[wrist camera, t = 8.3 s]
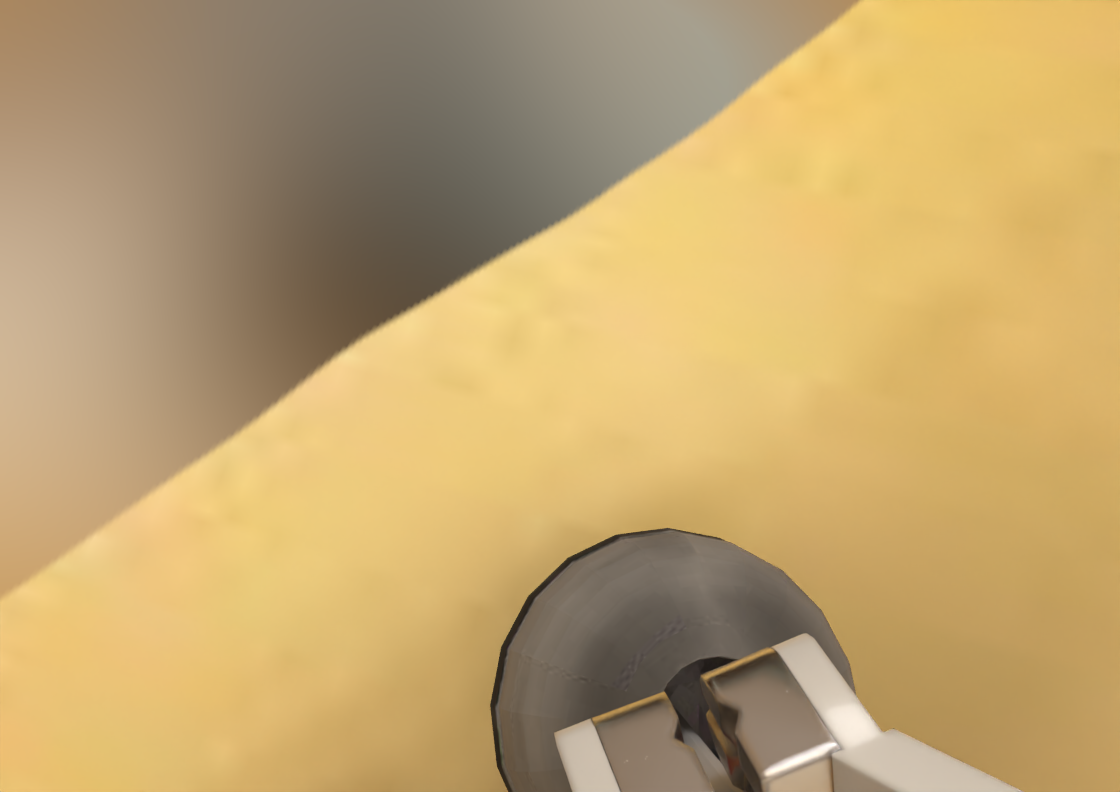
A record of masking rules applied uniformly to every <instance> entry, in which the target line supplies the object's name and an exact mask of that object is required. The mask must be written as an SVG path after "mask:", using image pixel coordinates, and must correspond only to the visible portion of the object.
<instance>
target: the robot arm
mask: <svg viewBox="0 0 1120 792" xmlns="http://www.w3.org/2000/svg"><path fill="white" fill-rule="evenodd" d="M699 681H700V686H701V692H702V695H703V697H704V698H705V700H706V702H707V704H708V706H709V710H708V712H707V714H706V718H707V722H708V726H709V731H710V734H711V737H712V739H713V742H714V745H715V748H716V751H717V753H718V756H719V758H720V760H721V762H722V764H723V767H724V769H725V771H726V773H727V775H728V777H729V779H730V781H731V783H732V785H734V786H735V787H737V788H739V789H741V790H743V791H744V792H1024V791H1022V790H1020V789H1017V788H1015V787H1013V786H1011V785H1009V784H1007V783H1005V782H1003V781H1001V780H999V779H997V778H995V777H993V776H991V775H989V774H987V773H984V772H982V771H980V770H978V769H976V768H974V767H972V766H970V765H968V764H966V763H964V762H962V761H960V760H958V759H956V758H954V757H952V756H949V755H947V754H945V753H943V752H941V751H939V750H937V749H935V748H933V747H931V746H929V745H927V744H925V743H923V742H921V741H919V740H916V739H914V738H912V737H910V736H908V735H906V734H904V733H902V732H900V731H898V730H896V729H894V728H893V729H890V730H888V731H885V732H882V731H881V729H880V728H879V726H878V725H877V724H876V722H875V721H874V720H873V718H872V717H871V715H870V714H869V713H868V711H867V710H866V709H865V707H864V706H863V705H862V703H861V702H860V700H859V699H858V698H857V696H856V695H855V694H854V692H853V691H852V689H851V688H850V687H849V685H848V684H847V683H846V681H845V680H844V678H843V677H842V676H841V674H840V673H839V672H838V670H837V669H836V668H835V666H834V665H833V663H832V662H831V661H830V659H829V658H828V657H827V655H826V654H825V652H824V651H823V650H822V648H821V647H820V646H819V644H818V643H817V641H816V640H815V639H814V638H813V637H812V636H810V635H808V634H807V633H804V634H801V635H798V636H796V637H794V638H791V639H789V640H787V641H784V642H782V643H780V644H777V645H775V646H772V647H770V648H769V647H766V648H764V649H761V650H759V651H757V652H754V653H752V654H749V655H747V656H745V657H742V658H740V659H738V660H735V661H733V662H730V663H728V664H726V665H723V666H721V667H718V668H716V669H714V670H711V671H709V672H706V673H704V674H702V675H700V680H699ZM554 736H555V740H556V745H557V748H558V751H559V754H560V757H561V760H562V763H563V766H564V769H565V772H566V775H567V777H568V780H569V783H570V786H571V789H572V792H715V791H714V789H713V787H712V785H711V783H710V781H709V779H708V777H707V775H706V772H705V770H704V768H703V766H702V764H701V762H700V760H699V758H698V756H697V754H696V752H695V750H694V748H692V747H690V746H688V745H686V744H685V743H684V739H683V735H682V730H681V726H680V722H679V718H678V715H677V713H676V711H675V709H674V707H673V705H672V704H671V702H670V700H669V698H668V696H667V695H666V693H665V692H660V693H657V694H655V695H652V696H649V697H647V698H644V699H641V700H639V701H636V702H633V703H631V704H628V705H626V706H623V707H620V708H618V709H615V710H612V711H610V712H607V713H604V714H602V715H599V716H596V717H594V718H592V720H591V718H590V719H588V720H585V721H583V722H580V723H578V724H575V725H573V726H570V727H567V728H565V729H562V730H560V731H557V732H555V733H554Z"/></svg>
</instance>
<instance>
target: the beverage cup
mask: <svg viewBox="0 0 1120 792" xmlns="http://www.w3.org/2000/svg"><path fill="white" fill-rule="evenodd" d="M804 633H807V634H808V635H810V636H812V637H813V638H814V639H815V640H816V641H817V643H818V644H819V646H820V647H821V648H822V650H823V651H824V652H825V654H826V655H827V657H828V658H829V659H830V661H831V662H832V663H833V665H834V666H835V668H836V669H837V670H838V672H839V673H840V674H841V676H842V677H843V678H844V680H845V681H846V683H847V684H848V685H849V687H850V688H851V689H852V691H853V692H854V694H855V695H856V692H855V687H854V683H853V678H852V673H851V668H850V664H849V661H848V659H847V657H846V655H845V654H844V652H843V650H842V648H841V646H840V644H839V642H838V640H837V639H836V637H835V635H834V633H833V631H832V629H831V627H830V625H829V624H828V622H827V620H826V618H825V616H824V614H823V612H822V610H821V609H820V608H819V607H818V606H817V605H816V604H815V603H814V602H813V601H812V600H811V599H810V598H809V597H808V596H807V595H806V594H805V593H804V592H803V591H802V590H801V589H800V588H799V587H798V586H797V585H796V584H795V583H794V582H793V581H792V580H791V579H790V578H789V577H788V576H787V575H786V574H785V573H784V572H783V571H782V570H781V569H779V568H777V567H775V566H773V565H771V564H770V563H768V562H766V561H764V560H762V559H760V558H758V557H757V556H755V555H753V554H751V553H749V552H747V551H746V550H744V549H742V548H740V547H738V546H736V545H734V544H732V543H730V542H726V541H724V540H722V539H721V538H717V537H712V536H706V535H701V534H696V533H691V532H686V531H680V530H675V529H670V528H665V529H657V530H649V531H641V532H634V533H626V534H618V535H614V536H612V537H610V538H608V539H606V540H604V541H602V542H600V543H598V544H596V545H594V546H592V547H590V548H588V549H585V550H583V551H581V552H579V553H577V554H575V555H573V556H571V557H569V558H567V559H566V560H565V561H564V562H563V563H562V564H561V565H560V566H559V567H558V568H557V569H556V570H555V571H554V572H553V573H552V574H551V575H550V576H549V577H548V578H547V579H546V580H545V581H544V582H543V583H542V584H541V585H540V586H538V587H537V588H536V589H535V590H534V591H533V592H532V593H531V594H530V595H529V596H528V598H527V600H526V602H525V604H524V605H523V607H522V609H521V611H520V613H519V615H518V617H517V619H516V620H515V622H514V624H513V626H512V628H511V630H510V632H509V634H508V635H507V637H506V639H505V641H504V643H503V645H502V647H501V652H500V657H499V662H498V667H497V673H496V678H495V683H494V688H493V694H492V699H491V704H490V707H491V716H492V725H493V734H494V743H495V752H496V761H497V767H498V769H499V772H500V774H501V776H502V778H503V781H504V783H505V785H506V788H507V790H508V792H572V789H571V786H570V783H569V780H568V777H567V775H566V772H565V769H564V766H563V763H562V760H561V757H560V754H559V751H558V748H557V745H556V740H555V736H554V733H555V732H557V731H560V730H562V729H565V728H567V727H570V726H573V725H575V724H578V723H580V722H583V721H585V720H588V719H590V718H591V720H592V718H594V717H596V716H599V715H602V714H604V713H607V712H610V711H612V710H615V709H618V708H620V707H623V706H626V705H628V704H631V703H633V702H636V701H639V700H641V699H644V698H647V697H649V696H652V695H655V694H657V693H660V692H665V693H666V695H667V696H668V698H669V700H670V702H671V704H672V705H673V707H674V709H675V711H676V713H677V715H678V718H679V722H680V726H681V730H682V735H683V739H684V743H685V744H686V745H688V746H690V747H692V748H694V750H695V752H696V754H697V756H698V758H699V760H700V762H701V764H702V766H703V768H704V770H705V772H706V775H707V777H708V779H709V781H710V783H711V785H712V787H713V789H714V791H715V792H744V791H743V790H741V789H739V788H737V787H735V786H734V785H732V783H731V781H730V779H729V777H728V775H727V773H726V771H725V769H724V767H723V764H722V762H721V760H720V758H719V756H718V753H717V751H716V748H715V745H714V742H713V739H712V737H711V734H710V731H709V726H708V722H707V718H706V714H707V712H708V710H709V706H708V704H707V702H706V700H705V698H704V697H703V695H702V692H701V686H700V681H699V680H700V675H702V674H704V673H706V672H709V671H711V670H714V669H716V668H718V667H721V666H723V665H726V664H728V663H730V662H733V661H735V660H738V659H740V658H742V657H745V656H747V655H749V654H752V653H754V652H757V651H759V650H761V649H764V648H766V647H769V648H770V647H772V646H775V645H777V644H780V643H782V642H784V641H787V640H789V639H791V638H794V637H796V636H798V635H801V634H804Z"/></svg>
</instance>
